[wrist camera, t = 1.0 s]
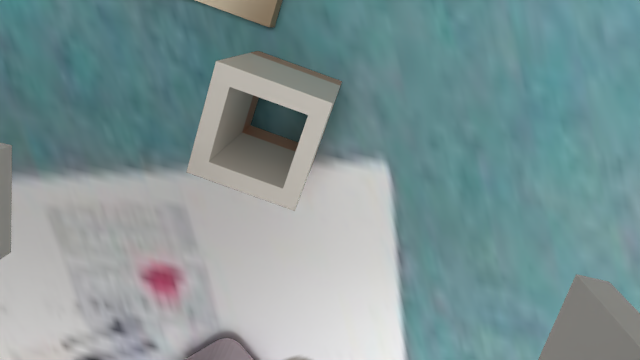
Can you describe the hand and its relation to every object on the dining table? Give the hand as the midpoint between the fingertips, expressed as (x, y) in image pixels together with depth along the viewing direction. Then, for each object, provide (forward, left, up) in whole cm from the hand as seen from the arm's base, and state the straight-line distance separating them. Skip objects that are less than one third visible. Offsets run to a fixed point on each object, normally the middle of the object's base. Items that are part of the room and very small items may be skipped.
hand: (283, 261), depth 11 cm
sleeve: (-3, 0, -18) cm, 18 cm away
